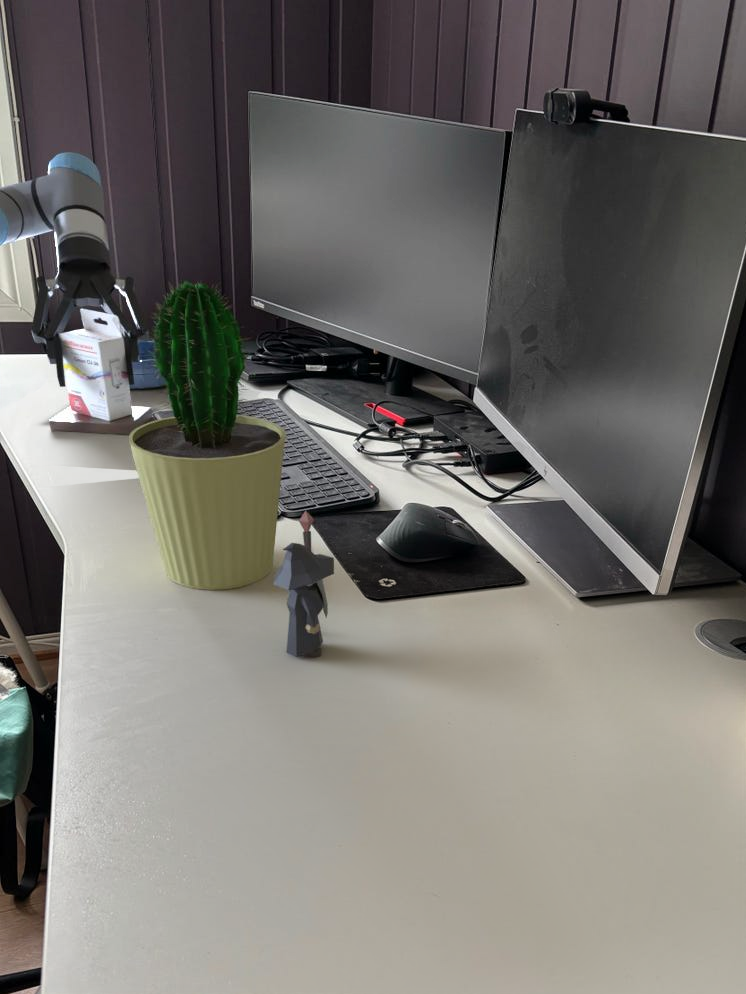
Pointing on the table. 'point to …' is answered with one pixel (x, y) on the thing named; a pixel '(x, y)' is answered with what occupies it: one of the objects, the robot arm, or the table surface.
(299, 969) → the table surface
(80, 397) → the ink cartridge box
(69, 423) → the board
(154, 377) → the bowl
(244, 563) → the potted cactus
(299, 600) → the wizard figurine
